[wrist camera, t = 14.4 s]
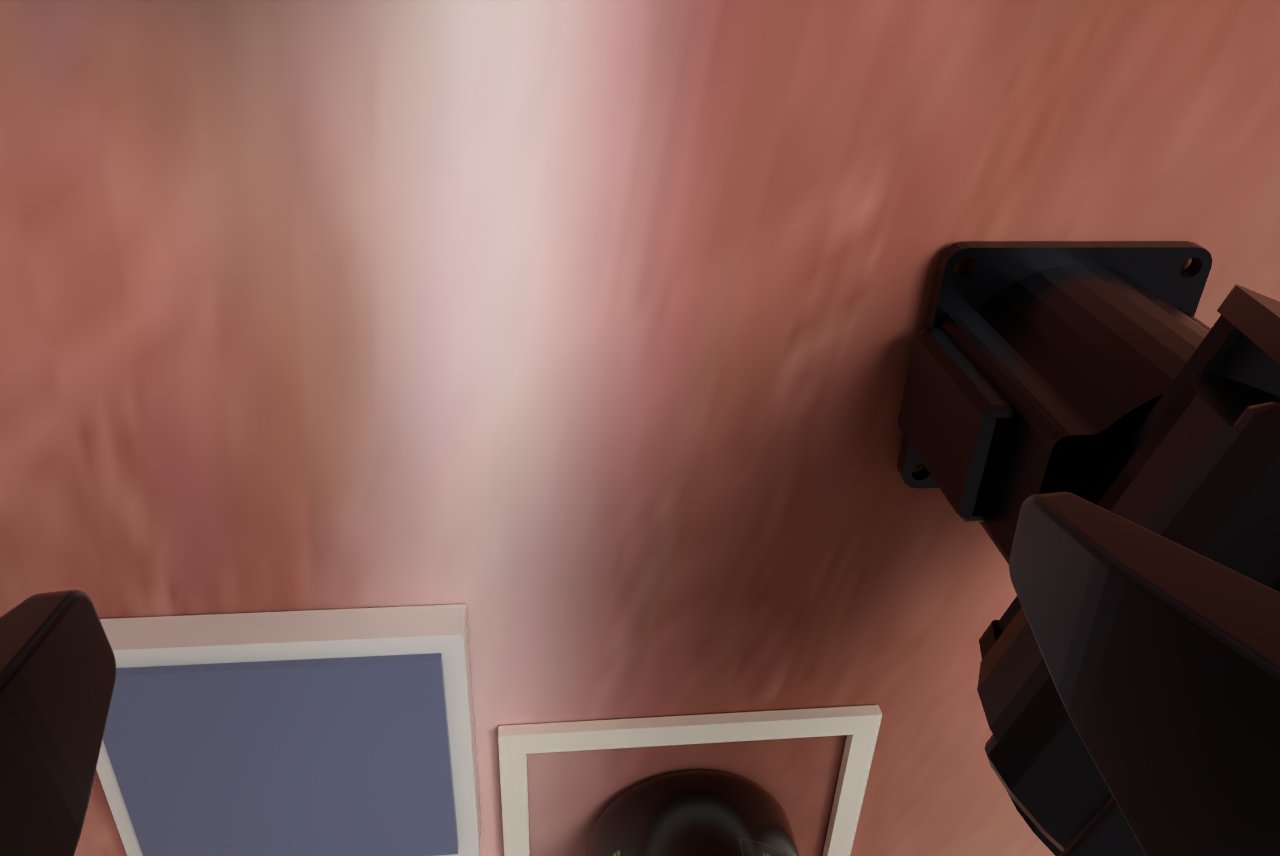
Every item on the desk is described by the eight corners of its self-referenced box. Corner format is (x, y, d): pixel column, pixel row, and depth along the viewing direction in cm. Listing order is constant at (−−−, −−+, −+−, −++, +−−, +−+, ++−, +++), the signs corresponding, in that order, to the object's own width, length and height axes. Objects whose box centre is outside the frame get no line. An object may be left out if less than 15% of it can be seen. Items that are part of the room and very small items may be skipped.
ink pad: (465, 604, 26) (463, 642, 25) (480, 823, 31) (479, 865, 29) (73, 619, 25) (49, 661, 24) (149, 844, 30) (132, 890, 28)
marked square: (878, 704, 30) (882, 714, 30) (827, 930, 36) (830, 941, 35) (498, 725, 29) (498, 736, 28) (510, 956, 34) (510, 967, 34)
